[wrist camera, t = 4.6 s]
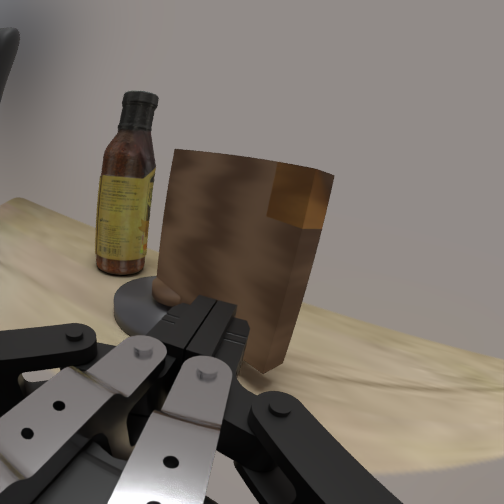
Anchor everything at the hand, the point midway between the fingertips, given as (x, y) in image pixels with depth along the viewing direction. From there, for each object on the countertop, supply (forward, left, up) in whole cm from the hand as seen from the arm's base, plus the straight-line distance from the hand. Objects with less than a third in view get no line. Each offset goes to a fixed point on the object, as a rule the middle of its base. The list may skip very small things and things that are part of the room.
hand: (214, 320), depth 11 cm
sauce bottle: (-16, +18, -8) cm, 25 cm away
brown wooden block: (-2, +9, -6) cm, 11 cm away
